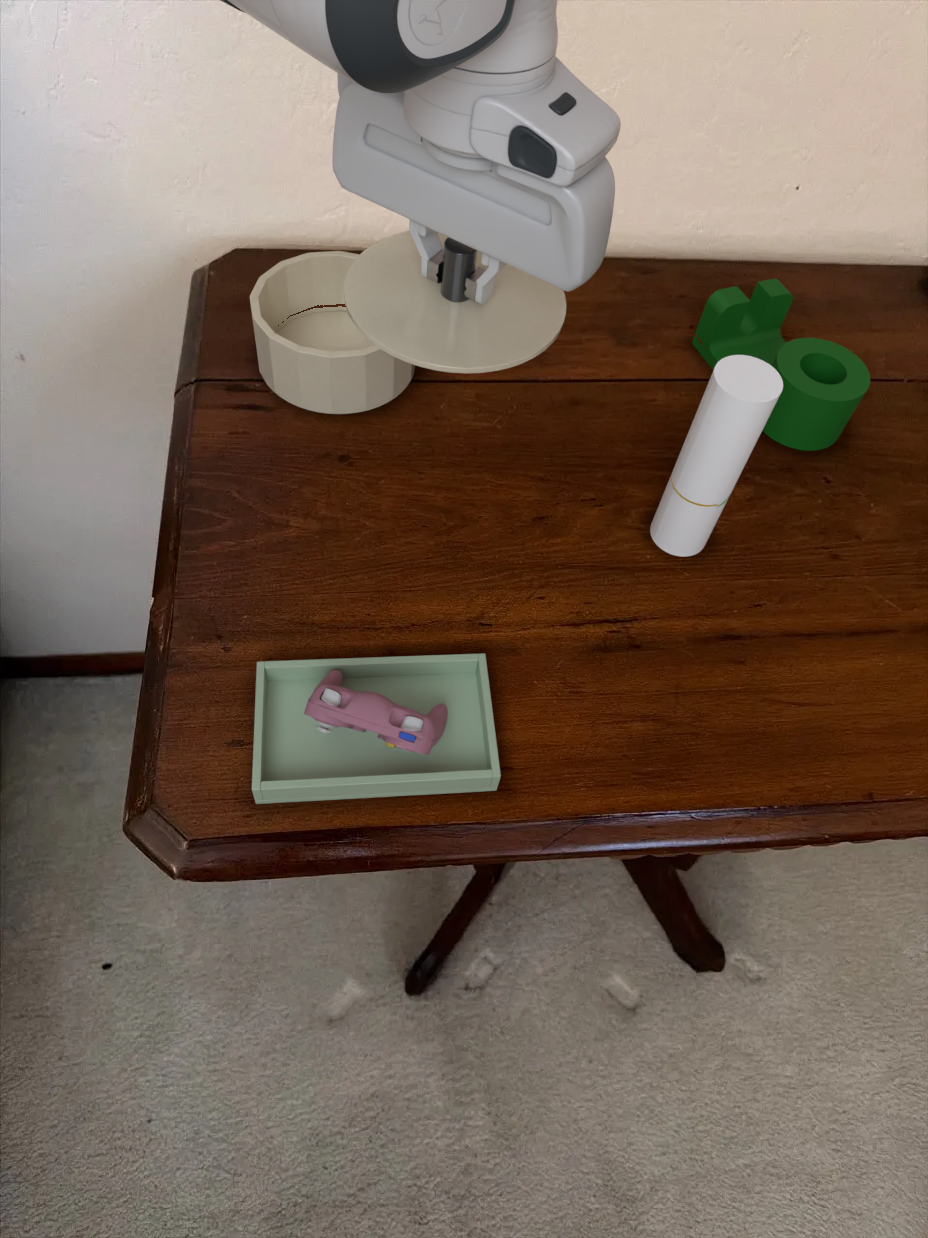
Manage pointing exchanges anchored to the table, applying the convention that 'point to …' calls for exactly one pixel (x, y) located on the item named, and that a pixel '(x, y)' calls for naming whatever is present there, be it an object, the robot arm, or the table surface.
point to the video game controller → (375, 715)
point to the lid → (449, 309)
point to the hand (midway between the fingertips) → (456, 286)
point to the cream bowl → (319, 339)
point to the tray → (360, 761)
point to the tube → (715, 452)
